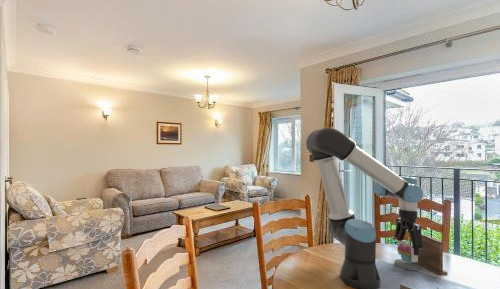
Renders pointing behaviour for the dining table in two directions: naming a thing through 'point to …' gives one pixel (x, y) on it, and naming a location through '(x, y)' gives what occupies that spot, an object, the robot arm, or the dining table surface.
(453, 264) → the dining table surface
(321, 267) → the dining table surface
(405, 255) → the cupcake
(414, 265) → the plate
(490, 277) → the dining table surface
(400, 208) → the robot arm
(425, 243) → the screen
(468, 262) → the dining table surface
